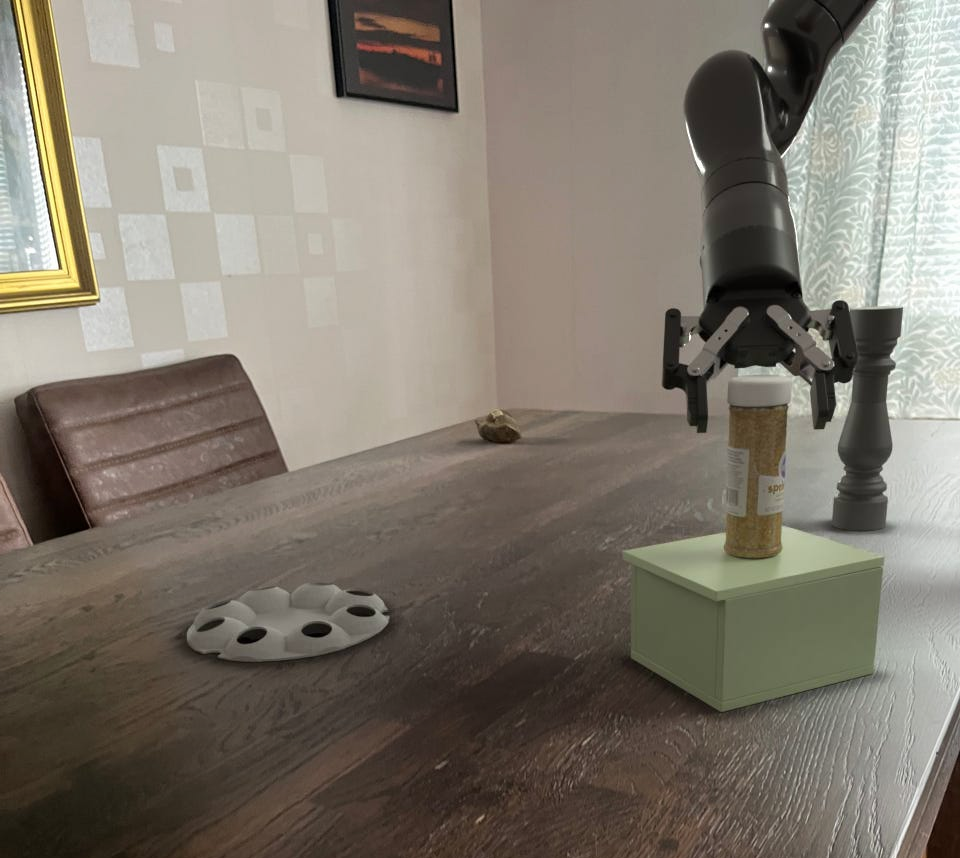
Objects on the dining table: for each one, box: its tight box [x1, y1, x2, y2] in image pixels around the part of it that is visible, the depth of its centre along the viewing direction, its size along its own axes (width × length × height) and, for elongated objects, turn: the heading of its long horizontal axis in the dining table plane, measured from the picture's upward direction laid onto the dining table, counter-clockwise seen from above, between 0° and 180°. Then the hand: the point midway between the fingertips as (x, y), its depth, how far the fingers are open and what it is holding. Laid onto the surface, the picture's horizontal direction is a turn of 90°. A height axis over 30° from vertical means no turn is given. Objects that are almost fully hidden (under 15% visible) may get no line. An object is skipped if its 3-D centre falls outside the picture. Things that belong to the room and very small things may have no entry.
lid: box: [622, 524, 885, 601], centre depth 79 cm, size 15×13×1 cm
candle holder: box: [831, 305, 904, 532], centre depth 117 cm, size 6×6×25 cm
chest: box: [630, 563, 884, 713], centre depth 80 cm, size 15×13×9 cm
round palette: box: [186, 582, 390, 663], centre depth 97 cm, size 20×20×2 cm
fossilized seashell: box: [474, 408, 523, 443], centre depth 191 cm, size 8×7×10 cm
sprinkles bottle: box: [724, 374, 793, 559], centre depth 76 cm, size 5×5×13 cm
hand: (761, 425), depth 74 cm, fingers open, 8 cm apart
